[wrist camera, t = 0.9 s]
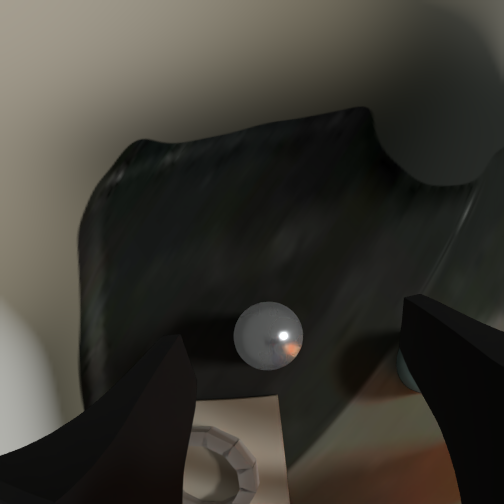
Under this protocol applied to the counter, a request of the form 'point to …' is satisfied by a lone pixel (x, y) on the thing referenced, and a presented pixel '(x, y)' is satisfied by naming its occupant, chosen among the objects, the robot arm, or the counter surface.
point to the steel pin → (268, 335)
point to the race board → (254, 435)
